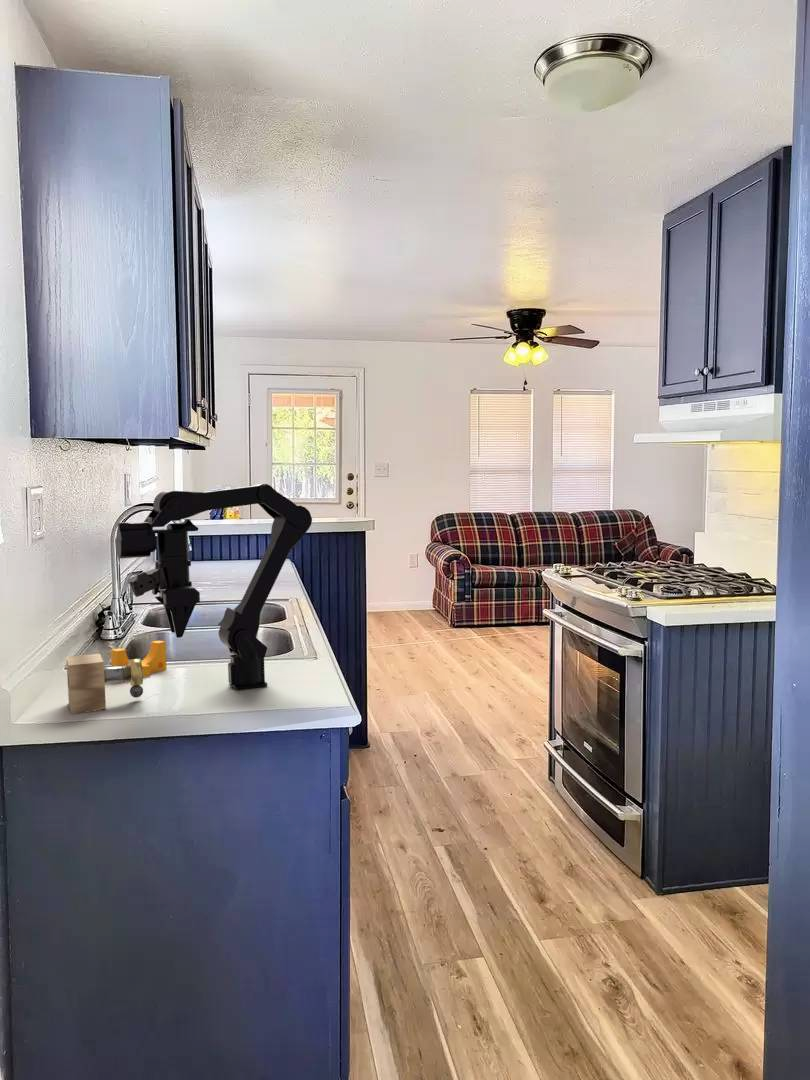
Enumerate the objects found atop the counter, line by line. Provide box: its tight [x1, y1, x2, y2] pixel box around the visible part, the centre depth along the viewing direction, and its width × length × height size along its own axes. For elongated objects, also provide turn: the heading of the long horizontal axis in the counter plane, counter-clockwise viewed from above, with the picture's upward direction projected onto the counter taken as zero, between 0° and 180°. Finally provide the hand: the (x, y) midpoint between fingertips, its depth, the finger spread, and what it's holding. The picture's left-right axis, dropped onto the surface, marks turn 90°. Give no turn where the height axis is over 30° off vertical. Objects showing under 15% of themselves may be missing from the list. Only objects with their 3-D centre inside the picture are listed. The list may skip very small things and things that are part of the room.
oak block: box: [66, 653, 107, 715], centre depth 157 cm, size 6×8×9 cm
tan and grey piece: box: [104, 658, 144, 699], centre depth 159 cm, size 10×5×7 cm, turn 115°
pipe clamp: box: [110, 640, 168, 678], centre depth 182 cm, size 12×4×6 cm, turn 142°
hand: (176, 634), depth 163 cm, fingers open, 6 cm apart
